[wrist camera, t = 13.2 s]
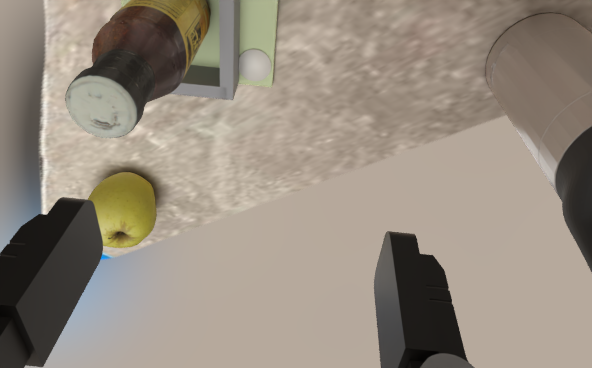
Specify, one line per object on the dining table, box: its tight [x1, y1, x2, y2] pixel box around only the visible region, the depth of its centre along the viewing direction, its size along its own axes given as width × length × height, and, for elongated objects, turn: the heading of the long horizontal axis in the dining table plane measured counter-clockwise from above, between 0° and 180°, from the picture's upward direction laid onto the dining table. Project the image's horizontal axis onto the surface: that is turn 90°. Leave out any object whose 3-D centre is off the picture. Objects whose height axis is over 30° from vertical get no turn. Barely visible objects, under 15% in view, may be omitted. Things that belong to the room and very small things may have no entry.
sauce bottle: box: [65, 0, 211, 138], centre depth 34 cm, size 6×6×20 cm
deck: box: [121, 0, 278, 100], centre depth 41 cm, size 14×14×5 cm
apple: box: [88, 172, 156, 248], centre depth 53 cm, size 8×8×10 cm
